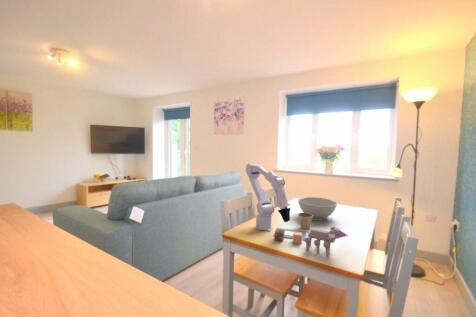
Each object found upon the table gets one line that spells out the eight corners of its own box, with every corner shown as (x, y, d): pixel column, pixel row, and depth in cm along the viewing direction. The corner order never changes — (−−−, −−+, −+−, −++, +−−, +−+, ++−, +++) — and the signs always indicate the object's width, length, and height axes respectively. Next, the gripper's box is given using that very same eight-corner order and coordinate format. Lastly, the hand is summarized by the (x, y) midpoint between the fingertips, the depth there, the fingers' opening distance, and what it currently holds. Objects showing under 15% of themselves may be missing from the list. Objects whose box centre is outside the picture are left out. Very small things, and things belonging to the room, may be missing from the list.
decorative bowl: (329, 212, 184) (330, 197, 183) (341, 224, 157) (342, 207, 156) (295, 211, 187) (295, 196, 186) (300, 223, 160) (301, 205, 159)
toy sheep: (348, 253, 117) (349, 227, 116) (345, 263, 109) (346, 235, 107) (308, 243, 128) (309, 219, 127) (302, 252, 119) (303, 226, 118)
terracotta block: (292, 243, 128) (293, 234, 128) (293, 240, 133) (293, 231, 132) (301, 244, 127) (301, 235, 127) (301, 241, 131) (302, 232, 131)
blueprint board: (273, 236, 138) (273, 235, 138) (277, 228, 150) (277, 227, 150) (305, 240, 132) (305, 239, 132) (306, 232, 144) (306, 231, 144)
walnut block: (274, 240, 132) (275, 232, 131) (276, 237, 136) (276, 229, 135) (282, 241, 130) (283, 233, 130) (283, 238, 134) (284, 230, 134)
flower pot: (294, 226, 154) (295, 213, 154) (306, 224, 158) (306, 211, 157) (303, 231, 146) (303, 217, 145) (315, 229, 149) (316, 216, 148)
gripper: (286, 195, 128) (292, 221, 125) (289, 196, 142) (295, 219, 138) (274, 198, 130) (279, 223, 127) (278, 199, 144) (283, 221, 140)
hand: (287, 221), depth 133 cm, fingers open, 7 cm apart
